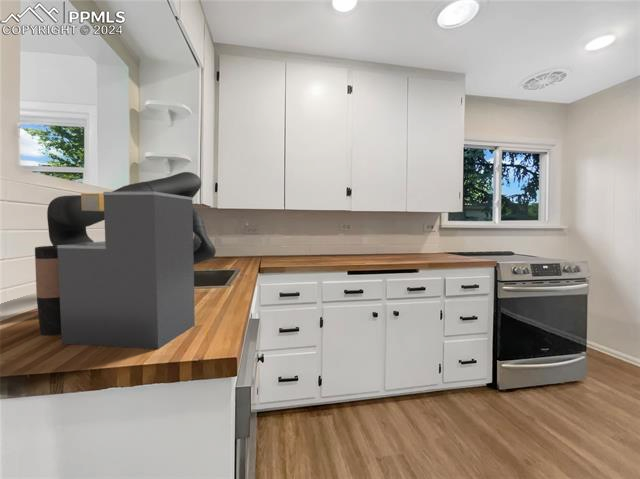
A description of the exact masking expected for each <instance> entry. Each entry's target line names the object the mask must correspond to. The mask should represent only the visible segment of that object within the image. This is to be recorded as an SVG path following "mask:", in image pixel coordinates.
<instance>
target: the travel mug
mask: <svg viewBox="0 0 640 479" xmlns="http://www.w3.org/2000/svg"><path fill="white" fill-rule="evenodd" d="M34 264H35V284H36V285H35V288H36V291H35V292H36V303H37V315H38V325H39V326H38V327H39V334H41V335H42V336H55V335H61V314H60V293H59V271H58V250H57V246H53V245H43V246H42V245H41V246H35V247H34Z"/></svg>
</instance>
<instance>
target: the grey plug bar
mask: <svg viewBox="0 0 640 479" xmlns="http://www.w3.org/2000/svg"><path fill="white" fill-rule="evenodd" d="M80 195H81V202H82V211H104V194H103V193H81V194H80Z"/></svg>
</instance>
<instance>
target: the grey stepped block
mask: <svg viewBox="0 0 640 479" xmlns="http://www.w3.org/2000/svg"><path fill="white" fill-rule="evenodd" d="M103 193H104V220H103V221H104V239H105V240H104V241H96V242H95V241H94V242H91V243H78V244H65V245H57V250H58V271H59V293H60V314H61V334H60V335H61V344H65V345H82V346H98V347H99V346H101V347H117V348H118V347H119V348H132V349H133V348H135V349H150V350H153V349H154V350H159V349H160V348H163V346H165V345H167V344H168V343H170V342H171V341H173V340H174V339H176V338H178V337H179V336H180V335H182V334H184V333H185V332H186V331H188V330H190V329H192V328H193V327H194V326H195V324H196V323H195V322H196V320H195V317H196V316H195V310H196V309H195V269H194V268H195V267H194V265H195V264H194V255H193V208H194V205H193V204H194V202H193V199H192V197H186V196H180V195H173V194H167V193H160V192H112V191H103V192H102V194H103Z"/></svg>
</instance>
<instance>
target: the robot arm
mask: <svg viewBox="0 0 640 479" xmlns="http://www.w3.org/2000/svg"><path fill="white" fill-rule="evenodd" d="M201 187H202V180H201V178H200V177H199V175H197V174H196V173H193V172H192V171H191V172H190V171H183V172H179V173H176V174H173V175H170V176H167V177H161V178H157V179H152V180H147V181H141V182H136V183H130V184H127V185H123V186H121V187H119V188H117V189H114V190H113V191H111V192H160V193H167V194H173V195H180V196H186V197H192V200H193V199H194V197H195V196H196V194H197V193H199V191H200V189H201ZM102 194H104V193H103V192H102ZM46 211H47V212H46V214H47V217H46V219H47V229H48V236H49V240H50V241H49V242H50V243H51V246H57V245H65V244H78V243H91V242H95V241H94V240H93V239H92V238H91V237H89V235H88V233H87V227H90V226H93V225H95V224H98V223H100V222H103V221H105V220H104V211H82V202H81V194H80V195H79V194H78V195H76V194H72V195H61V196H57V197H55V198H53V199H52V200H51V201H50V202H49V204H48V206H47V210H46ZM216 254H217V252H216V248H215V245H214V244H213V243H212V241H211V239H210V238H209V235H208V234H207V231H206V227H205V222H204V219H203V217H202V215H201V214H200V213H199V211H197V210H196V209H195V207H193V255H194V265H198V264H200V263H203V262H205V261H208V260H211V259H213V258H214V257H215V256H216Z"/></svg>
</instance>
